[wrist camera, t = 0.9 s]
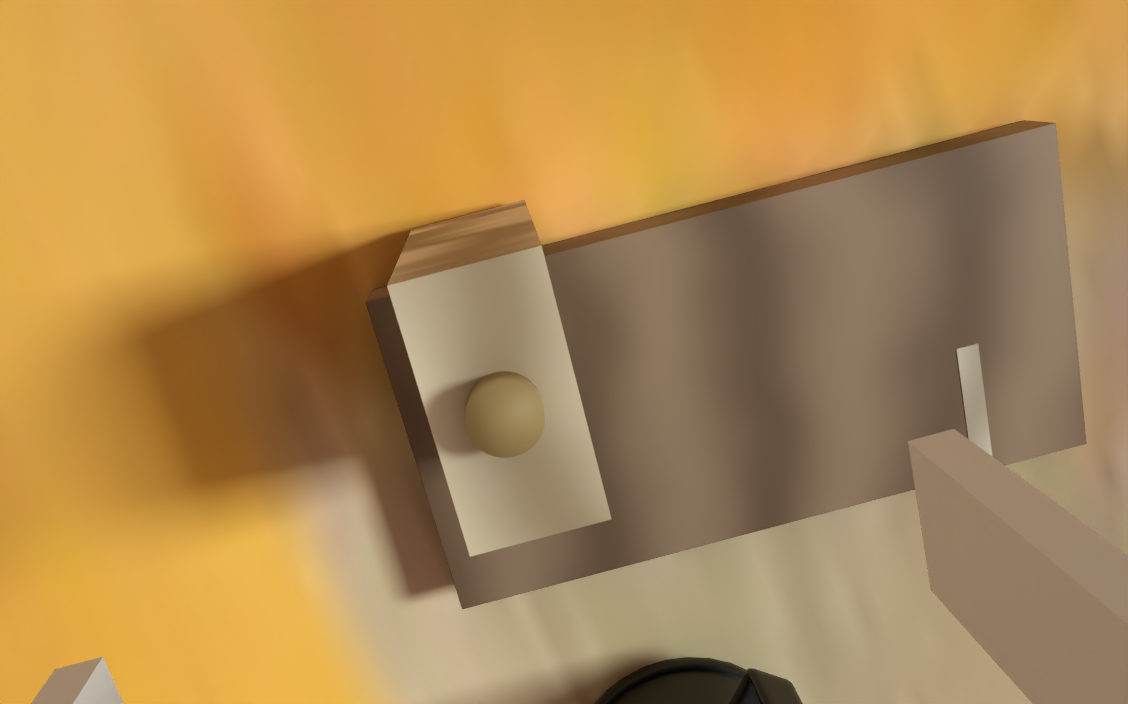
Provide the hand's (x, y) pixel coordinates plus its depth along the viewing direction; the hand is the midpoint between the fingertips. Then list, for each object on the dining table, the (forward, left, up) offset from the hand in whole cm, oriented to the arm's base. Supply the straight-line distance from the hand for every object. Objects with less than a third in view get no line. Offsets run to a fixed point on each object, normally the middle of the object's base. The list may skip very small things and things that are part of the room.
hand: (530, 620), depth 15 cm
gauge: (0, 0, -20) cm, 20 cm away
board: (+8, -4, -20) cm, 22 cm away
